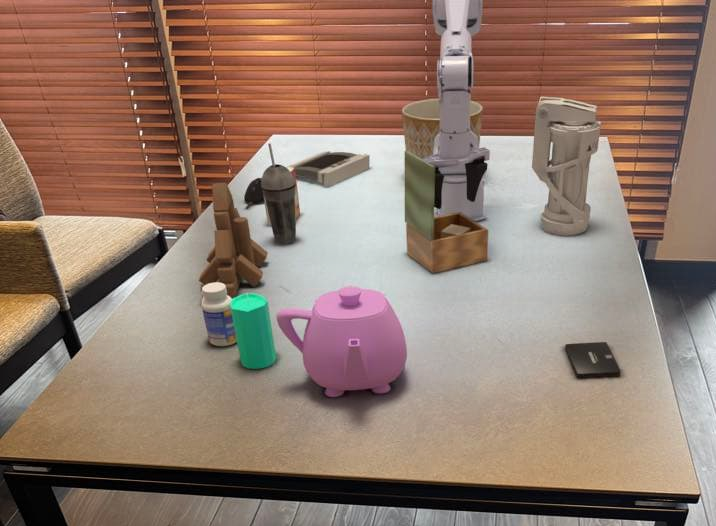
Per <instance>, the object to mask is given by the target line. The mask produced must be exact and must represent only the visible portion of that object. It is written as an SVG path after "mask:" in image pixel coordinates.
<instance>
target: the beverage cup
mask: <svg viewBox="0 0 716 526" xmlns="http://www.w3.org/2000/svg"><path fill="white" fill-rule="evenodd" d="M268 149H269V150H268V151H269V155H270V160H271V165H269V166H268V167H266V169H265V170H264V171H263V173H262V176H261V177H262V180H261V189H262V192H263V195H264V197H265V200H266V204H267V209H268V213H269V217H270V222H271V225H270V227H271V230H272V234H273V238H274V241H275V243H276V244H277V245H282V246H283V245H285V246H287V245H291V244H294V243H295V242H297V238H296V237H297V226H296V225H297V224H296V223H297V221H296V220H295V186H296V184H295V181H294V177H293V175H292V174H291V172H290V171H289V170H288V169H287V168H286V167H287V166H285V165H282V164H276V162H275V158H274V154H273V149H272V144H271V143H268Z"/></svg>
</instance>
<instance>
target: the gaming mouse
mask: <svg viewBox="0 0 716 526" xmlns="http://www.w3.org/2000/svg"><path fill="white" fill-rule="evenodd" d="M244 203H247V206H246V207H245V209H246V210H248V209H249V208H250V207H252V205H253V204H263V203H265V202H264V195H263V192H262V189H261V177H257V178H255V179H253V180H251V181H250V183H249V184H248V186H247V188H246V189H245V193H244Z"/></svg>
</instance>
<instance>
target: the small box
mask: <svg viewBox="0 0 716 526" xmlns="http://www.w3.org/2000/svg"><path fill="white" fill-rule="evenodd" d="M285 167H286V168H287V169H288V170H289V171H290V172H291V174H292V175H293V177H294V181H295V184H296V186H295V221H296V220H297V219H298V218H299V217H300V216H301V209H300V198H299V191H298V182H297V176H296V172H295V168H294V167H288V166H285ZM260 178H261V180H262V176H261V177H260ZM263 203H264V207H265V208H264V209H265V215H266V221H267V226H271V222H270V217H269V213H268V209H267V204H266V200H265V197H264V202H263Z"/></svg>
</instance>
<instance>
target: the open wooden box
mask: <svg viewBox="0 0 716 526" xmlns="http://www.w3.org/2000/svg"><path fill="white" fill-rule="evenodd" d="M451 224H453V225H458V226H463V227H468V228H471V229H470V232H469V233H464V234H460V235H455V236H451V237H446V238H442V239H441V231H442V230H443V229H445V228H447V227H448V226H450V225H451ZM405 231H406V232H405V233H406V235H405V236H406V255H408V256H409V257H411V258H412V259H413V260H415V261H416V262H417V263H419V264H420V266H422V267H423V268H425V269H426V270H427V271H429V272H430V273H431V274H436V273H441V272H445V271H448V270H453V269H457V268H461V267H467V266H471V265H474V264H478V263H483V262H486V261H488V249H489V248H488V247H489V246H488V245H489V229H488V228H487V227H485V226H483V225H482V224H480V223H479V222H478V221H474V220H472V219H470V218H469V217H467V216H466V215H464V214H462V213H461V212H458V213H453V214H448V215H444V216H439V217H434V240H429V239H428V238H427V237H425V236H424V235H422V234H421V233H420V232H418V231H417V230H415V229H414V228H413V227H411V226H410V225H408V224H407V223H406V222H405Z"/></svg>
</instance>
